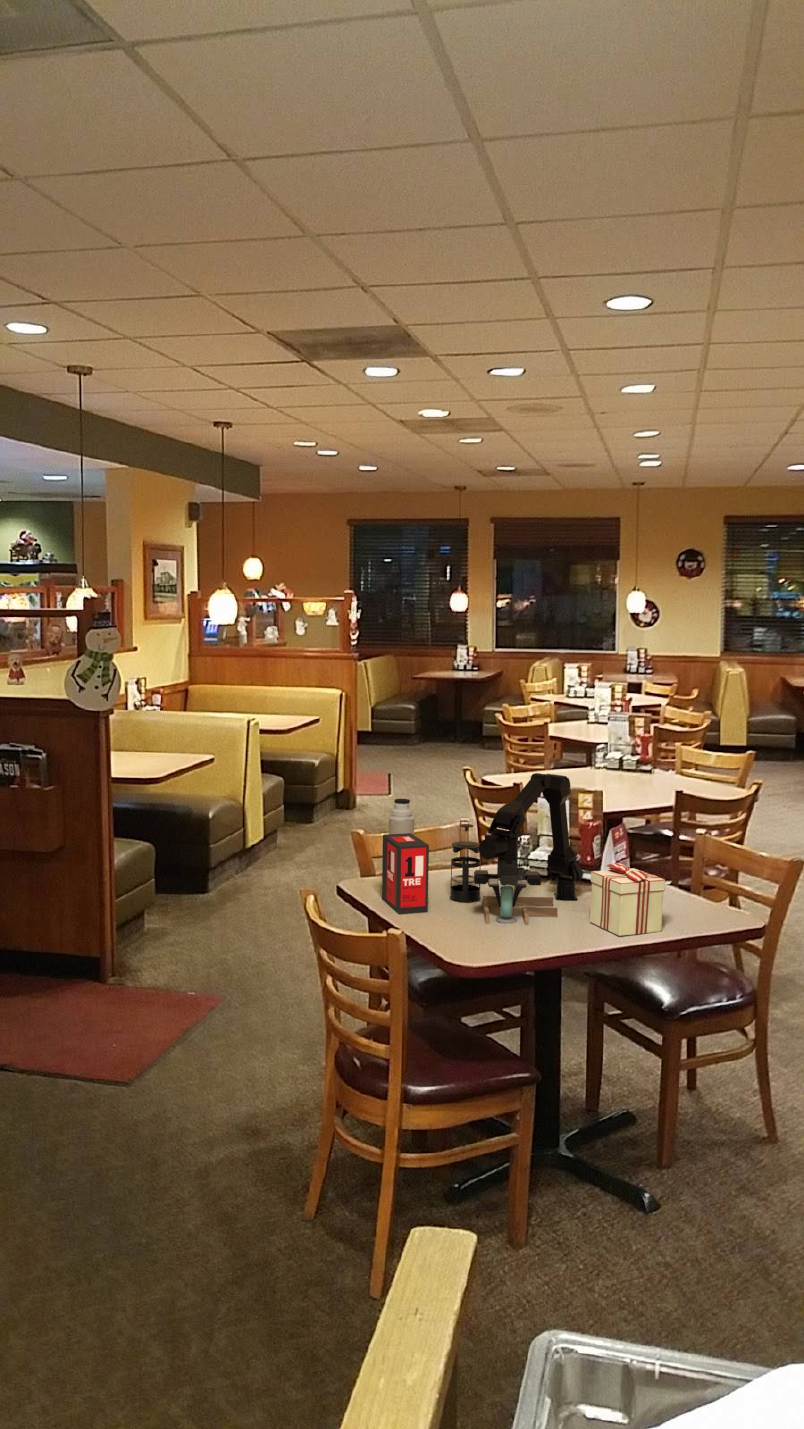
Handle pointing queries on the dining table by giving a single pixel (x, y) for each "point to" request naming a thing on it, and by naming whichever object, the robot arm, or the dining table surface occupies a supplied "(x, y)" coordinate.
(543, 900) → the channel
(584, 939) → the dining table surface
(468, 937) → the dining table surface
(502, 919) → the pad
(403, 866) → the cleaning product box
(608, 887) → the gift box
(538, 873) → the robot arm
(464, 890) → the french press
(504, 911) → the peg
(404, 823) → the thermos bottle
